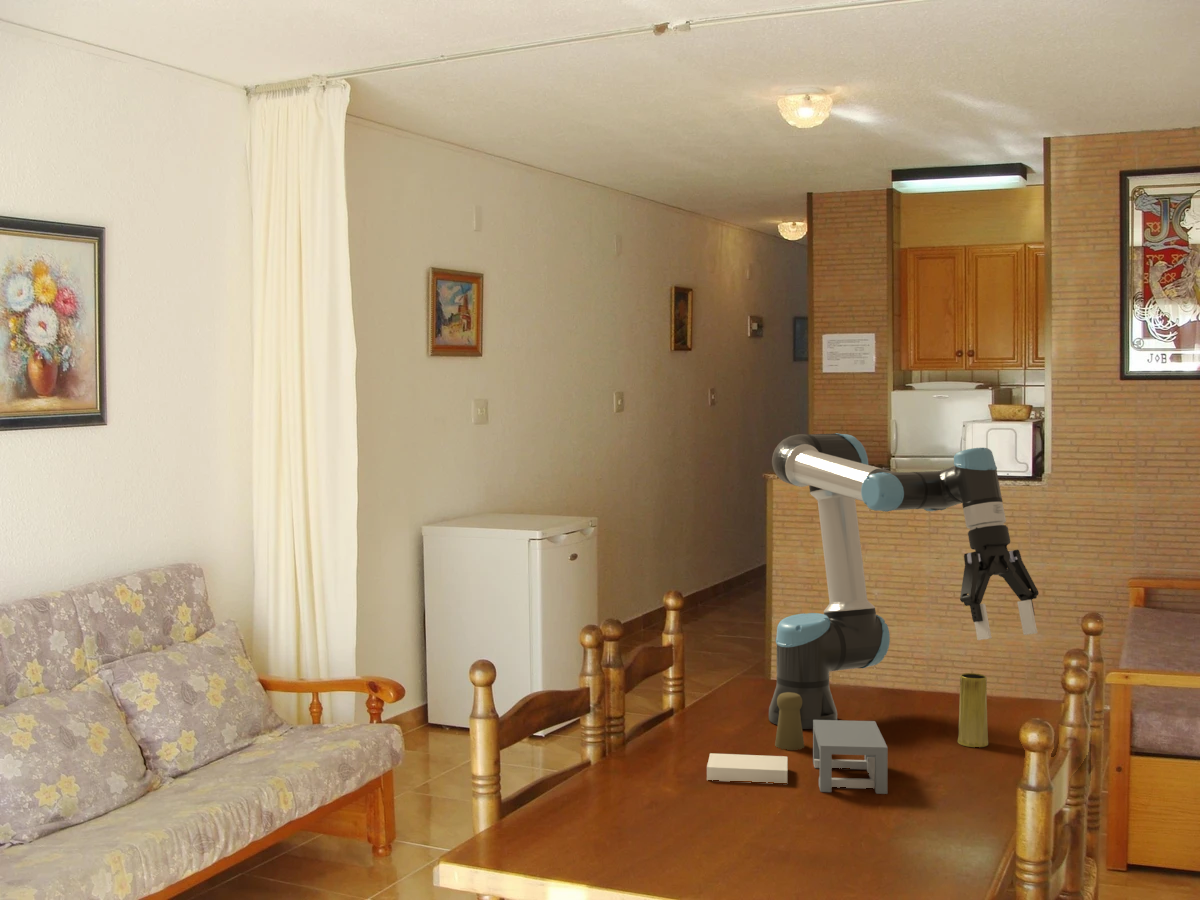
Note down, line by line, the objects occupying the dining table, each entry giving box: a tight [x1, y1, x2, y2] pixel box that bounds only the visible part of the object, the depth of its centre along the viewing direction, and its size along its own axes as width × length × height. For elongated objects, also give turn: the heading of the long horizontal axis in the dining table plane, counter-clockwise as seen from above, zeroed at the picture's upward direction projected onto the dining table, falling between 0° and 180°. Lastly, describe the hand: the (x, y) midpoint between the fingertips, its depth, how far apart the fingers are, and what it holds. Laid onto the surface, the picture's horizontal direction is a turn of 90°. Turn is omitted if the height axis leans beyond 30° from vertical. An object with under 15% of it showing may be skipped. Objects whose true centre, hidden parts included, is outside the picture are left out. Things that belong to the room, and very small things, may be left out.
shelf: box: [812, 719, 889, 795], centre depth 224 cm, size 18×12×8 cm, turn 174°
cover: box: [706, 752, 789, 784], centre depth 226 cm, size 9×15×3 cm, turn 81°
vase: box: [957, 672, 989, 748], centre depth 246 cm, size 6×6×14 cm
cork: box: [774, 692, 805, 751], centre depth 245 cm, size 6×6×11 cm
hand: (1008, 636), depth 225 cm, fingers open, 13 cm apart
